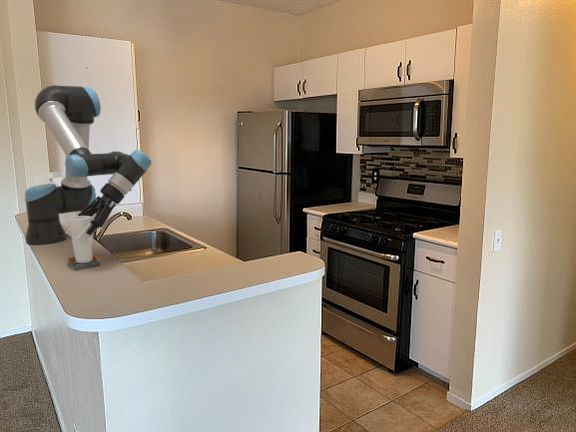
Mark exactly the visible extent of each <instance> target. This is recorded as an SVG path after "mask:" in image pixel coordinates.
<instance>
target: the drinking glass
mask: <svg viewBox="0 0 576 432" xmlns="http://www.w3.org/2000/svg"><path fill="white" fill-rule="evenodd" d="M76 216H77V217H71V218H69V226H68V227H69V228H70V234H71V236H70V238H71V243H72V247H73V248H72V249H73V252H74V253H73V254H74V257H75V260H76V262H77V263H88V262H91V261H92V260H93V255H94V253H93V235H92V236H91V237H90V238H89V239H88V240H87V242H86V243H85V244H82V243H81V242H79V241H78V240H76V239H77V238H78V237H79V236H80V234H81V233H82V232H83V231H84V230H85V229H86V227H87V226H88V225H89V224H90V221H92V217H90V216H78V215H76Z"/></svg>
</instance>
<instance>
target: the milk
mask: <svg viewBox="0 0 576 432" xmlns="http://www.w3.org/2000/svg"><path fill="white" fill-rule="evenodd" d="M62 179H64V178H63V177H62V175H61V174H60V171H52V172H49V178H48V179H47V181H45V183H44V184H55V185H56V187H59V186H61V181H62ZM77 216H78V215H77V212H70V213H62V214H59V219H60V223H61V225H66V226H68V225H67V224H69V218H71V217H77Z"/></svg>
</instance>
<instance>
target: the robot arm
mask: <svg viewBox="0 0 576 432" xmlns="http://www.w3.org/2000/svg"><path fill="white" fill-rule="evenodd" d="M34 109H35V112H36V115H37V116H38V118H39V119H40V120H41V121H42V122H43V123H45V124H46V126H47V127H48V129H49V130H50V132H51V133H52V135H53V137H54V138H55V140H56V141H57V143H58V145H59V147H60V148H61V149H62V151H63V152H64V155H65V160H64V161H65V162H64V165H65V166H64V167H65V172H64V173H65V177H64V178H63V179H62V181H61V186H59V187H56V185H55V184H45V183H44V184H39V185H35V186H31V187H29V188H27V189H26V190H25V191H24V196H25V197H24V199H25V200H24V201H25V206H26V213H27V215H26V216H27V222H28V225H27V228H26V229H27V230H26V233H25V234H26V235H25V244H28V245H48V244H53V243H58V242H62V241H64V240H66V239H67V235H68V236H69V237H71V234H70V227H69V228H68V229H67V231H65V229H64V226H62V225H61V223H60V219H59V214H62V213H70V212H76V213H77V212H79V213H78V215H77V216H90V217H91V218H92V217H93V216H94V215H95V216H94V217H93V219H91V221H90V224H89V225H88V226H87V227H86V229H85V230H84V231H83V232H82V233H81V234H80V236H79V237H78V238H77V239H76V240H78V241H79V242H81V243H82V244H85V243H86V242H87V240H88V239H89V238H90V237H91V236H92V237H93V234H94V233H95V232H96V231H97V230H98V229H100V228H103V227H104V225H105V223H106V222H107V220H108V218H109V217H110V215H111V212H112V211H113V209H114V208H115V207H116V206H117V205H118V204H120V203H122V201H123V200H124V198H125V195H128V193H129V192H132V191H133V190H132V188H134V186H135V185H136V184H137V183H138V181H140V179H142V177H143V175H145V173H147V172H148V170H149V168H150V167H151V166H152V164H153V163H152V159H151V157H149V156H148V155H147V154H146V153H144V152H143V151H142V150H140V149H135V150H134V151H132V152H131V153H130V154H127V153H124V152H121V151H116V150H113V151H109V152H106V153H104V152H103V153H92V152H91V151H90V150H89V149H90V131H91V130H90V128H91V127H90V126H91V125H93V124H94V123H95V118H97V117H99V116H100V115H101V109H102V108H101V101H100V98H99V96H98V93H97V92H96V90H94V89H93V88H91V87H86V86H83V85H82V86H76V85H75V86H73V85H49V86H46V87H44V88H42V89H41V90H40V92H38V94H36V97H35V100H34ZM106 175H107V176H108V175H112V176H111V177H110V178H109V179H108V181H107V182H105V184H104V185H103V186H102V187H101V189H100V190H99V191H100V193H101V194H102V196H99V195H98V196H97V195H96V189H95V187H94V185H93V184H92V182H91V181H90V180H89V179H88V177H94V176H106Z"/></svg>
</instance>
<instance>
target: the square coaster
mask: <svg viewBox="0 0 576 432" xmlns="http://www.w3.org/2000/svg"><path fill="white" fill-rule="evenodd" d="M66 260H67V265H68V267H69V268H71V269H72V270H73V271H79V270H84V269H89V268H95V267H100V266H101V263H100V257H98V256H96V255H95V254H93V260H92V261H91V262H88V263H77V262H76V260H75V256H73V257H67V259H66Z"/></svg>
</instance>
